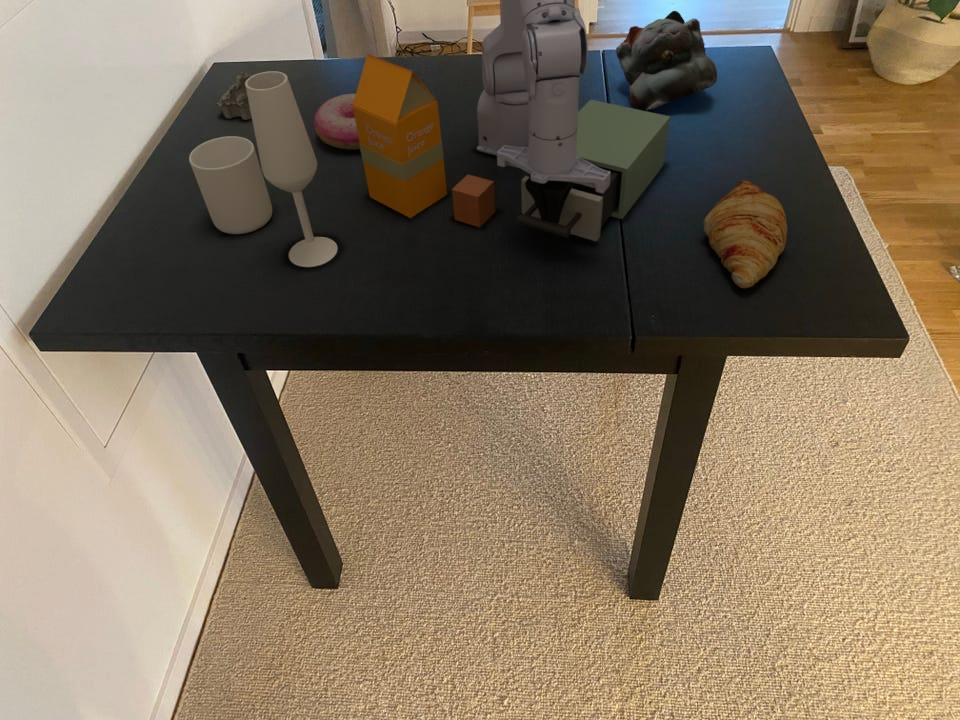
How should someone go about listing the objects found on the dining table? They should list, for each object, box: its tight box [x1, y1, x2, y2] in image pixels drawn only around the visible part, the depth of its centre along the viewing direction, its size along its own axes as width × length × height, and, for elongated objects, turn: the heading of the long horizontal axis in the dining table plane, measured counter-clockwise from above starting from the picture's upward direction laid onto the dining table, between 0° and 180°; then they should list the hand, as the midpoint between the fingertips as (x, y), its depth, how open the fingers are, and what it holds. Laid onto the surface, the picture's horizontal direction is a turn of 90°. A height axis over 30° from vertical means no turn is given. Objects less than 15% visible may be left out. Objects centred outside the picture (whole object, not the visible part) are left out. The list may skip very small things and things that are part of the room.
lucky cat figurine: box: [615, 10, 718, 112], centre depth 121 cm, size 15×12×14 cm
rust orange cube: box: [451, 173, 496, 228], centre depth 101 cm, size 4×4×5 cm
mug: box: [188, 135, 273, 235], centre depth 103 cm, size 9×12×11 cm
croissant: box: [702, 179, 788, 289], centre depth 93 cm, size 21×10×8 cm, turn 167°
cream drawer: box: [517, 166, 622, 242], centre depth 99 cm, size 19×11×6 cm, turn 149°
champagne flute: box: [245, 70, 339, 268], centre depth 91 cm, size 7×7×24 cm
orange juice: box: [352, 53, 448, 219], centre depth 100 cm, size 8×9×20 cm
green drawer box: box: [576, 99, 671, 220], centre depth 105 cm, size 15×12×8 cm
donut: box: [313, 92, 360, 151], centre depth 119 cm, size 14×13×5 cm
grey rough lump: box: [215, 70, 253, 121], centre depth 129 cm, size 11×8×4 cm
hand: (551, 224), depth 95 cm, fingers closed, pressing on cream drawer
